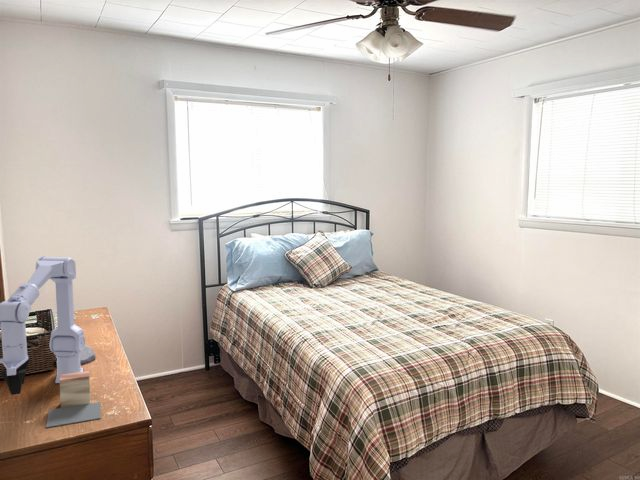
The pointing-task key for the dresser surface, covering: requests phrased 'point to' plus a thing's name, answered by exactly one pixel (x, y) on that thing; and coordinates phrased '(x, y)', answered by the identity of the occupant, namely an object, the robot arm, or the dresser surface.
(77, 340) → the robot arm
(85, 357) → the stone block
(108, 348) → the dresser surface
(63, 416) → the mat
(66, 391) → the birch block
